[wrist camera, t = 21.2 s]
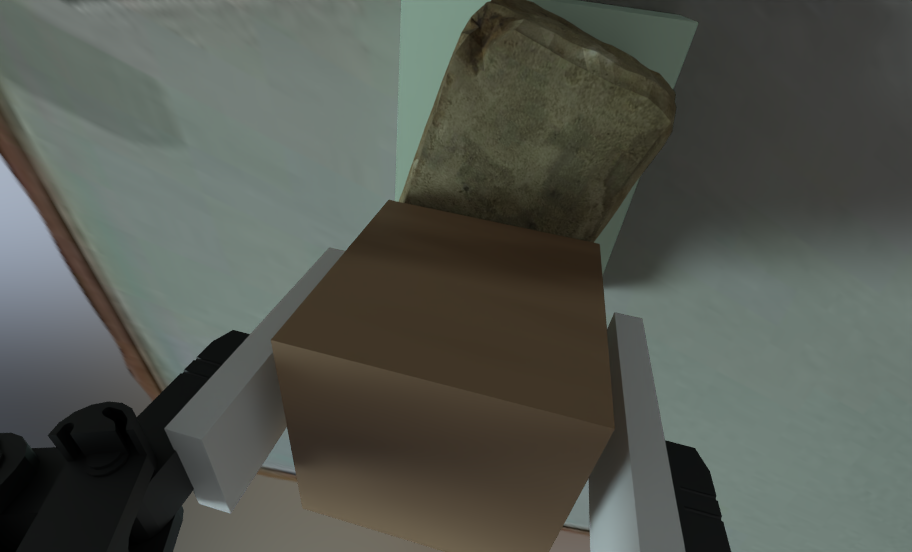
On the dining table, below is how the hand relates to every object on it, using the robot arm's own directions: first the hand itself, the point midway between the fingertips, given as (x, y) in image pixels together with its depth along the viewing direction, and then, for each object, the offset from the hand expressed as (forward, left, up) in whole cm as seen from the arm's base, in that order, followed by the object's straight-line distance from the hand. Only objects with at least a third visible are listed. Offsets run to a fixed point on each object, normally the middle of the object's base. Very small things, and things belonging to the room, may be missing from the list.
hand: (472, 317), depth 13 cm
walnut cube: (0, 0, -1) cm, 1 cm away
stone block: (-2, 0, -6) cm, 6 cm away
